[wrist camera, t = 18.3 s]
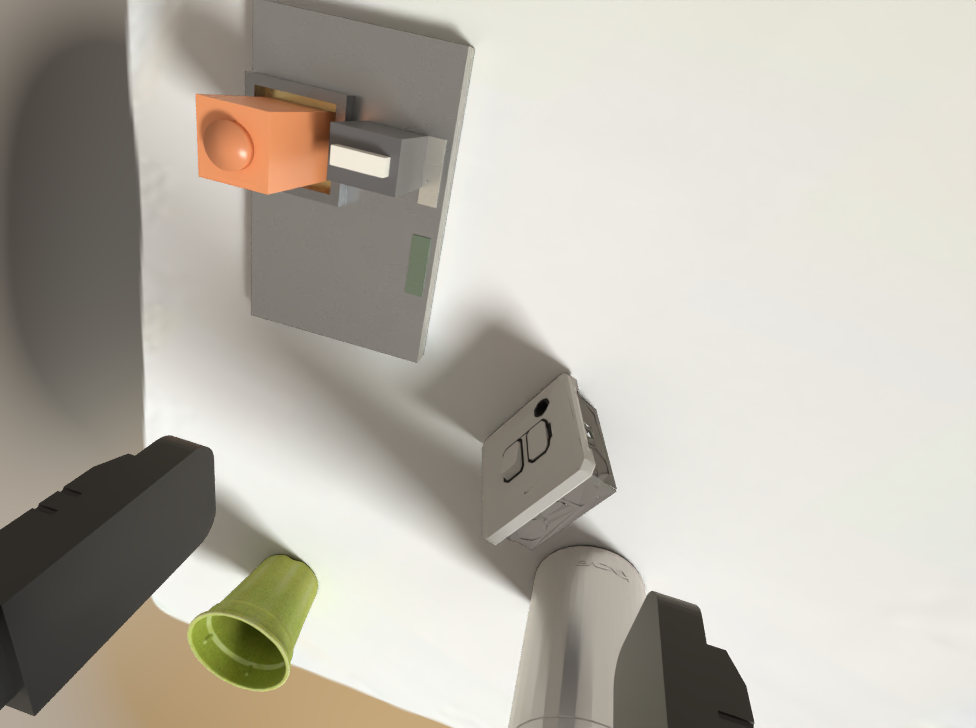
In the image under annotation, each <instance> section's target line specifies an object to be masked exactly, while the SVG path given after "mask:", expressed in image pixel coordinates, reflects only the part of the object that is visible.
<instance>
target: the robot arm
mask: <svg viewBox="0 0 976 728" xmlns="http://www.w3.org/2000/svg"><path fill="white" fill-rule="evenodd" d="M215 510H216V507H215V475H214V455H213V452H212V450H211V449H210V448H208V447H205V446H202V445H199V444H196V443H193V442H190V441H187V440H184V439H180V438H177V437H174V436H169V435H168V436H164V437H161V438H160V439H158V440H156V441H155V442H154V443H152V444H151V445H149V446H148V447H147V448H145V449H144V450H142V451H141V452H140V453H138V454H137V455H135V456H134V455H131V454H126V455H123V456H121V457H118V458H116V459H113V460H110V461H108V462H105V463H103V464H100V465H97V466H95V467H93V468H91V469H89V470H88V471H86V472H85V473H84V474H82V475H81V476H79V477H78V478H76V479H75V480H74V481H72V482H70V483H69V484H67V485H66V486H64V488H63V490H62V491H61V492H59V491H57V492H56V493H54V494H53V495H51V496H49V497H48V498H47V499H45V500H44V501H42V502H41V503H39V506H38V507H37V508H36V509H33V508H32V509H30V510H29V511H27V512H26V513H24V514H23V515H22V516H20V517H18V518H17V519H15V520H14V521H12V522H11V523H10V524H8V525H7V526H5V527H4V528H2V529H1V530H0V710H1V709H2V708H3V707H4V706H5V705H7V706H9V707H12V708H14V709H17V710H20V711H22V712H25V713H27V714H30V715H33V716H35V715H36V714H37V713H38V712H39V711H40V710H41V709H42V708H43V707H44V706H45V705H46V704H47V703H48V702H49V701H50V699H52V697H54V696H55V695H56V693H57V692H58V691H59V690H60V689H61V688H62V687H63V686H64V685H65V684H66V683H67V682H68V681H69V680H70V679H71V678H72V677H73V676H74V675H75V674H76V673H77V671H79V670H80V669H81V668H82V667H83V666H84V664H85V663H86V662H87V661H88V660H89V659H90V658H91V657H92V656H93V655H94V654H95V653H96V652H97V651H98V650H99V649H100V648H101V647H102V646H103V645H104V644H105V643H106V642H107V641H108V640H109V639H110V638H111V636H112V635H113V634H114V633H115V632H116V631H117V630H118V629H119V628H120V627H121V626H122V625H123V624H124V623H125V622H126V621H127V620H128V619H129V618H130V617H131V616H132V615H133V614H134V613H135V612H136V610H137V609H139V607H141V605H142V604H143V603H144V602H145V601H146V600H147V599H148V598H149V597H150V596H151V595H152V594H153V593H154V592H155V591H156V590H157V589H158V588H159V587H160V586H161V585H162V584H163V583H164V582H165V581H166V580H167V579H168V578H169V576H170V575H171V574H172V573H173V572H174V571H175V570H176V569H177V568H178V567H179V566H180V565H181V564H182V563H183V562H184V561H185V560H186V559H187V558H188V557H189V556H190V555H191V554H192V553H193V552H194V551H195V550H196V549H197V547H198V546H199V545H200V544H201V543H202V542H203V540H204V539H205V538H206V536H207V534H208V533H209V531H210V529H211V526H212V524H213V521H214V517H215ZM753 726H754V719H753V714H752V710H751V705H750V701H749V696H748V692H747V687H746V685H745V683H744V681H743V679H742V678H741V676H740V674H739V672H738V671H737V669H736V667H735V665H734V664H733V662H732V660H731V658H730V657H729V655H728V653H727V651H726V650H723V649H720V648H717V647H714V646H711V645H708V644H707V643H706V637H705V631H704V625H703V619H702V614H701V611H700V609H699V607H698V606H697V605H695V604H692V603H688V602H685V601H682V600H679V599H676V598H673V597H670V596H667V595H663V594H660V593H657V592H654V591H651V592H649V593H648V595H647V596H646V594H645V586H644V583H643V580H642V578H641V576H640V574H639V573H638V572H637V570H636V569H635V568H634V567H633V566H632V565H631V564H630V563H629V562H628V561H627V560H625V559H624V558H622V557H620V556H619V555H617V554H615V553H613V552H610V551H608V550H605V549H601V548H596V547H590V546H575V547H568V548H564V549H561V550H558V551H556V552H554V553H552V554H550V555H549V556H548V557H547V558H545V559H544V560H543V561H542V563H541V564H540V565H539V567H538V569H537V572H536V575H535V579H534V585H533V591H532V596H531V602H530V607H529V612H528V618H527V623H526V629H525V635H524V641H523V646H522V652H521V658H520V663H519V669H518V675H517V680H516V686H515V692H514V697H513V703H512V709H511V715H510V720H509V726H508V728H754V727H753Z"/></svg>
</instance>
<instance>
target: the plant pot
mask: <svg viewBox="0 0 976 728" xmlns="http://www.w3.org/2000/svg"><path fill="white" fill-rule="evenodd" d="M317 589H318V582H317V579H316V577H315V575H314V573H313V572H312V570H311V569H310V568H309V567H308V566H307V565H306V564H304V563H303V562H301V561H295V560H292V559H291V558H289V557H288V556H287V555H273V556H270V557H268V558H267V559H265V560H264V561H263V562H262V563H261V564H260V565H259V566H258V567H257V568H256V569H255V570H254V571H253V572H252V573H251V574H250V575H249V576H248V577H247V578H245V579H244V580H243V581H242V582H241V583H240V584H239V585H238V586H237V587H236V588H235V589H234V590H233V591H232V592H231V593H230V594H229V595H228V596H227V597H226V598H225V599H224V600H222V601H221V602H220V603H218V604H216V605H215V606H213V607H212V608H211V609H210V610H209V611H206V612H203V613H201V614H199V615H198V616H197V617H195V618H194V619H193V621H192V622H191V623H190V625H189V627H188V632H187V637H188V642H189V645H190V648H191V650H192V652H193V653H194V655H195V656H196V658H197V659H198V660H199V661H200V662H201V663H202V664H203V665H204V666H205V667H206V668H207V669H208V670H209V671H210V672H211V673H213V674H214V675H216V676H217V677H219V678H220V679H222V680H224V681H225V682H227V683H230V684H232V685H234V686H236V687H240V688H243V689H248V690H252V691H268V690H273V689H276V688H278V687H280V686H281V685H283V684H284V683H285V681H286V680H287V678H288V676H289V674H290V668H291V664H290V662H291V659H292V656H293V649H294V646H295V644H296V641H297V639H298V636H299V634H300V631H301V629H302V626H303V624H304V621H305V619H306V617H307V614H308V612H309V610H310V608H311V605H312V603H313V601H314V599H315V596H316V593H317Z"/></svg>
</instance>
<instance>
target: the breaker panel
mask: <svg viewBox="0 0 976 728" xmlns="http://www.w3.org/2000/svg"><path fill="white" fill-rule="evenodd" d="M474 53H475V49H474V48H472V47H470V46H466V45H462V44H457V43H453V42H449V41H444V40H440V39H435V38H431V37H426V36H422V35H417V34H413V33H409V32H404V31H400V30H395V29H391V28H386V27H382V26H377V25H373V24H369V23H364V22H360V21H355V20H351V19H346V18H342V17H337V16H333V15H329V14H324V13H320V12H315V11H311V10H306V9H302V8H297V7H293V6H289V5H284V4H280V3H275V2H271V1H266V0H253V72H251V71H245V96H255V97H275V98H279V99H283V100H287V101H291V102H296V103H300V104H304V105H308V106H312V107H316V108H320V109H324V110H328V111H333V112H335V122H339V121H369V122H373V123H377V124H381V125H385V126H390V127H394V128H398V129H402V130H406V131H410V132H414V133H418V134H422V135H426V136H429V137H428V144H427V151H426V158H425V165H424V172H423V179H422V186H421V188H419V189H416V190H413V191H411V192H408V193H406V194H403V195H400V196H398V197H395V198H394V197H391V196H387V195H383V194H379V193H375V192H371V191H367V190H363V189H360V188H356V187H352V186H348V185H344V184H340V183H336V182H332V181H329V180H328V181H324V182H320V183H316V184H311V185H307V186H303V187H299V188H294V189H290V190H286V191H282V192H277V193H273V194H269V195H267V194H263V193H259V192H256V191H252V261H251V315H254V316H257V317H261V318H264V319H267V320H271V321H274V322H278V323H281V324H285V325H288V326H292V327H295V328H299V329H302V330H305V331H309V332H312V333H316V334H319V335H323V336H326V337H330V338H333V339H337V340H340V341H343V342H347V343H350V344H354V345H357V346H361V347H364V348H368V349H371V350H375V351H378V352H381V353H385V354H388V355H392V356H395V357H399V358H402V359H406V360H409V361H412V362H416V363H417V362H418V361H419V360H420V358H421V357H422V356H423V355H424V349H425V343H426V338H427V332H428V326H429V320H430V314H431V308H432V302H433V296H434V290H435V284H436V278H437V272H438V266H439V260H440V254H441V249H442V243H443V237H444V231H445V225H446V219H447V213H448V207H449V201H450V195H451V189H452V183H453V177H454V171H455V166H456V160H457V154H458V148H459V142H460V136H461V130H462V124H463V118H464V112H465V106H466V100H467V94H468V88H469V82H470V77H471V71H472V65H473V59H474Z"/></svg>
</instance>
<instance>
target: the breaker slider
mask: <svg viewBox="0 0 976 728" xmlns="http://www.w3.org/2000/svg"><path fill="white" fill-rule="evenodd" d="M428 137H429V136H426V135H422V134H418V133H414V132H410V131H406V130H402V129H398V128H394V127H390V126H385V125H381V124H377V123H373V122H369V121H339V122H330V137H329V152H328V167H327V180H329V181H332V182H336V183H340V184H344V185H348V186H352V187H356V188H360V189H363V190H367V191H371V192H375V193H379V194H383V195H387V196H391V197H394V198H395V197H398V196H400V195H403V194H406V193H408V192H411V191H413V190H416V189H419V188H421V186H422V179H423V172H424V165H425V158H426V151H427V144H428Z"/></svg>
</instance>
